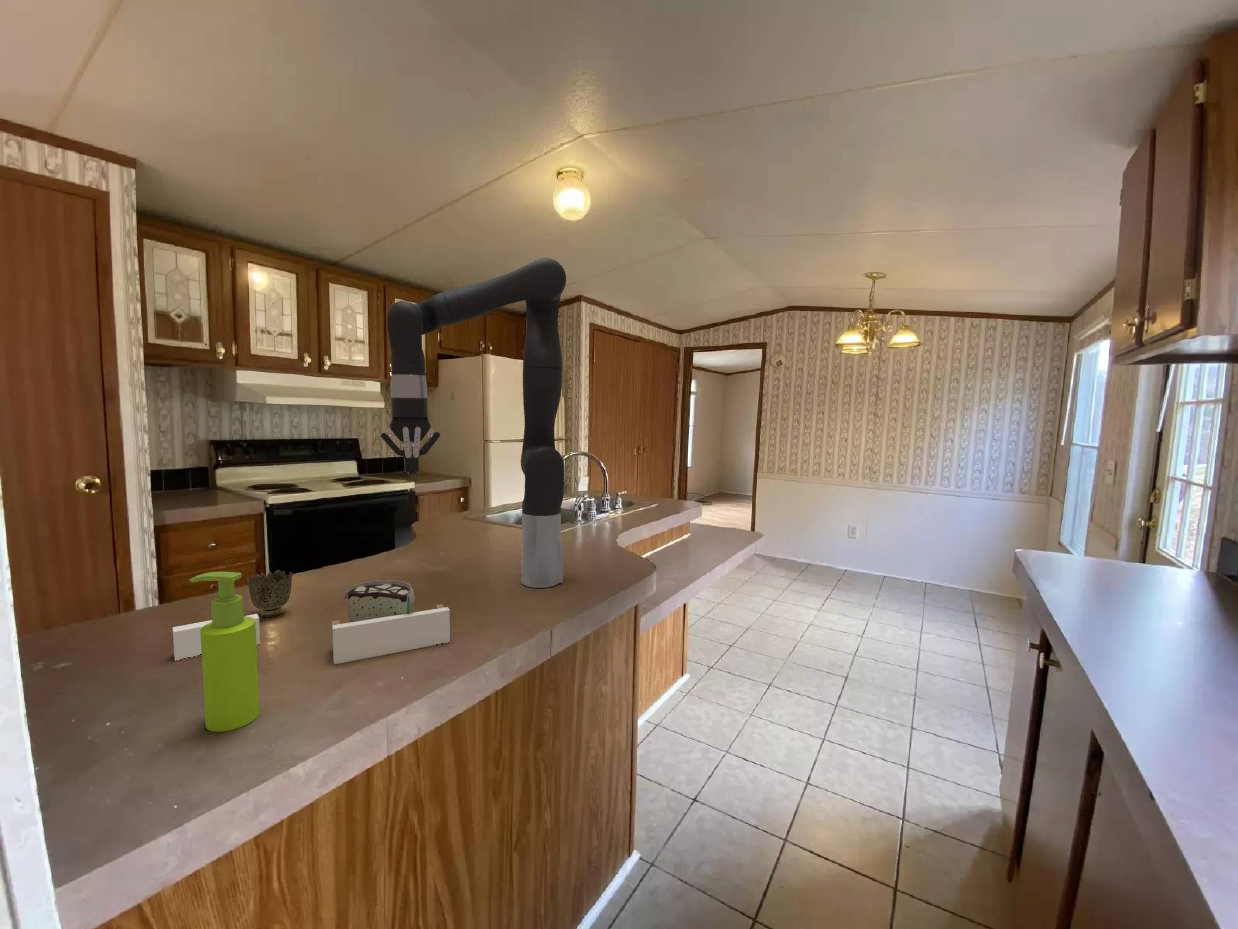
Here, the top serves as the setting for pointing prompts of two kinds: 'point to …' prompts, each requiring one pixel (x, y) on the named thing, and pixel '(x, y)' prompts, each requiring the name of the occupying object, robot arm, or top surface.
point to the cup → (270, 592)
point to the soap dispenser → (229, 658)
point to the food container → (378, 599)
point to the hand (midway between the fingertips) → (411, 474)
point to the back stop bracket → (390, 634)
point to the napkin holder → (196, 638)
